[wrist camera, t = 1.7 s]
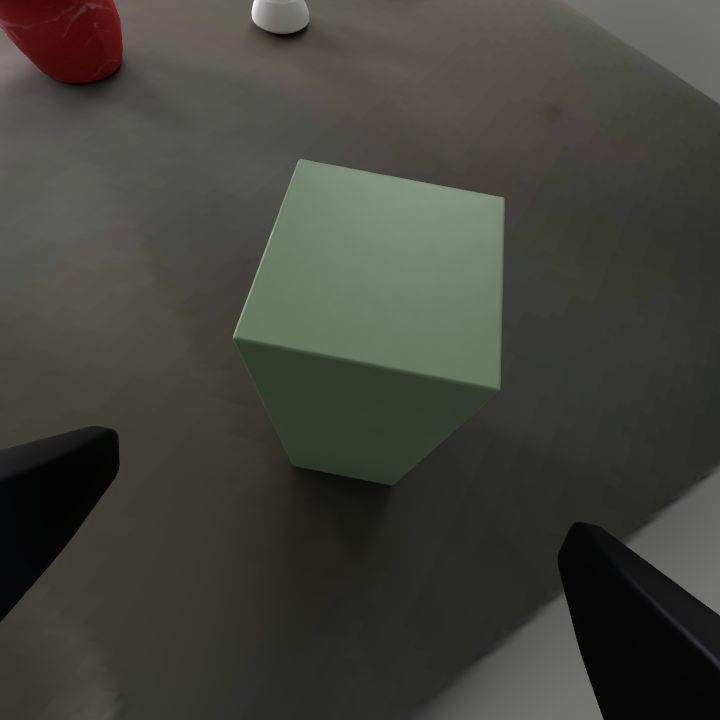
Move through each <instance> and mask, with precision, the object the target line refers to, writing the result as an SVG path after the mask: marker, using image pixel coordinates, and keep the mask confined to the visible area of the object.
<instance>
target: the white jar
mask: <svg viewBox="0 0 720 720" xmlns="http://www.w3.org/2000/svg"><path fill="white" fill-rule="evenodd" d="M252 19H253V21H254V22H255V23H256V25H257V26H259V27H261V28H262V29H264V30H266V31H269V32H273V33H277V34H288V33H294V32H296V31H298V30H300V29H302V28H304V27H306V25H307V24H308V23H309V11H308V8H307V6H306V4H305V1H304V0H254V3H253V7H252Z"/></svg>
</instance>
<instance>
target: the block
mask: <svg viewBox="0 0 720 720" xmlns="http://www.w3.org/2000/svg"><path fill="white" fill-rule="evenodd" d="M504 213H505V199H504V198H502V197H497V196H492V195H487V194H481V193H476V192H471V191H466V190H460V189H455V188H450V187H445V186H439V185H434V184H429V183H424V182H418V181H413V180H408V179H403V178H397V177H392V176H387V175H382V174H376V173H371V172H366V171H361V170H355V169H350V168H345V167H340V166H334V165H329V164H324V163H319V162H313V161H308V160H303V159H300V160H299V161H298V163H297V166H296V169H295V171H294V174H293V177H292V179H291V182H290V185H289V187H288V190H287V193H286V195H285V198H284V201H283V204H282V206H281V209H280V212H279V214H278V217H277V220H276V222H275V225H274V228H273V230H272V233H271V236H270V238H269V241H268V244H267V247H266V249H265V252H264V255H263V257H262V260H261V263H260V265H259V268H258V271H257V273H256V276H255V279H254V281H253V284H252V287H251V290H250V292H249V295H248V298H247V300H246V303H245V306H244V308H243V311H242V314H241V316H240V319H239V322H238V324H237V327H236V330H235V333H234V335H233V341H234V343H235V345H236V347H237V349H238V351H239V353H240V356H241V358H242V360H243V362H244V364H245V366H246V368H247V370H248V372H249V375H250V377H251V379H252V381H253V383H254V385H255V387H256V389H257V391H258V394H259V396H260V398H261V400H262V402H263V404H264V406H265V408H266V411H267V413H268V415H269V417H270V419H271V421H272V423H273V425H274V427H275V430H276V432H277V434H278V436H279V438H280V440H281V442H282V444H283V447H284V449H285V451H286V453H287V455H288V457H289V459H290V461H291V463H292V465H293V466H296V467H301V468H306V469H311V470H316V471H321V472H326V473H331V474H336V475H341V476H346V477H351V478H356V479H361V480H366V481H371V482H376V483H381V484H386V485H391V486H392V485H394V484H395V483H396V482H397V481H399V480H400V479H401V478H402V477H403V476H404V475H405V474H407V473H408V472H409V471H410V470H411V469H412V468H413V467H414V466H416V465H417V464H418V463H419V462H420V461H421V460H422V459H424V458H425V457H426V456H427V455H428V454H429V453H430V452H431V451H433V450H434V449H435V448H436V447H437V446H438V445H439V444H441V443H442V442H443V441H444V440H445V439H446V438H447V437H448V436H450V435H451V434H452V433H453V432H454V431H455V430H456V429H458V428H459V427H460V426H461V425H462V424H463V423H464V422H465V421H467V420H468V419H469V418H470V417H471V416H472V415H473V414H475V413H476V412H477V411H478V410H479V409H480V408H481V407H482V406H484V405H485V404H486V403H487V402H488V401H489V400H490V399H492V398H493V397H494V396H495V395H496V394H497V393H498V392H499V391H500V380H501V338H502V296H503V254H504Z"/></svg>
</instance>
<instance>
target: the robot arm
mask: <svg viewBox="0 0 720 720" xmlns="http://www.w3.org/2000/svg"><path fill="white" fill-rule="evenodd" d="M118 470H119V439H118V434H117V432H116V431H115V430H114V429H110V428H105V427H100V426H90V427H86V428H83V429H79V430H75V431H71V432H67V433H64V434H60V435H56V436H52V437H49V438H45V439H41V440H37V441H34V442H30V443H26V444H22V445H18V446H15V447H11V448H7V449H3V450H0V622H1V621H2V620H3V619H4V618H5V616H6V615H7V614H8V613H9V612H10V611H11V610H12V608H13V607H14V606H15V605H16V604H17V603H18V601H19V600H20V599H21V598H22V597H23V596H24V595H25V593H26V592H27V591H28V590H29V589H30V588H31V586H32V585H33V584H34V583H35V582H36V581H37V579H38V578H39V577H40V576H41V575H42V574H43V573H44V571H45V570H46V569H47V568H48V567H49V566H50V564H51V563H52V562H53V561H54V560H55V559H56V557H57V556H58V555H59V554H60V553H61V551H62V550H63V549H64V548H65V546H66V545H67V544H68V542H69V541H70V540H71V538H72V537H73V536H74V534H75V533H76V532H77V530H78V529H79V527H80V526H81V525H82V523H83V522H84V521H85V519H86V518H87V516H88V515H89V514H90V512H91V511H92V509H93V508H94V507H95V505H96V504H97V502H98V501H99V500H100V498H101V497H102V495H103V494H104V493H105V491H106V490H107V488H108V487H109V486H110V484H111V483H112V482H113V480H114V479H115V477H116V475H117V473H118ZM558 568H559V572H560V576H561V580H562V584H563V588H564V592H565V596H566V599H567V603H568V607H569V611H570V615H571V619H572V623H573V627H574V631H575V635H576V639H577V642H578V645H579V649H580V653H581V655H582V659H583V662H584V665H585V668H586V671H587V674H588V676H589V679H590V682H591V685H592V687H593V691H594V694H595V696H596V699H597V702H598V705H599V708H600V711H601V714H602V716H603V719H604V720H720V616H719V615H718V614H717V613H715V612H714V611H713V610H711V609H710V608H709V607H707V606H706V605H704V604H703V603H702V602H701V601H699V600H698V599H697V598H695V597H694V596H692V595H691V594H690V593H688V592H687V591H686V590H684V589H683V588H682V587H680V586H679V585H678V584H676V583H675V582H674V581H672V580H671V579H670V578H668V577H667V576H665V575H664V574H663V573H661V572H660V571H659V570H657V569H656V568H655V567H653V566H652V565H651V564H649V563H648V562H647V561H645V560H644V559H643V558H641V557H640V556H638V555H637V554H636V553H635V552H633V551H632V550H630V549H629V548H628V547H627V546H625V545H624V544H623V543H621V542H620V541H618V540H617V539H616V538H614V537H613V536H612V535H610V534H609V533H608V532H606V531H605V530H604V529H602V528H601V527H599V526H597V525H593V524H588V523H583V522H576V523H574V524H573V525H572V526H571V528H570V530H569V532H568V534H567V536H566V538H565V540H564V543H563V545H562V547H561V549H560V551H559V554H558Z"/></svg>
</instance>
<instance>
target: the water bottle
mask: <svg viewBox="0 0 720 720" xmlns="http://www.w3.org/2000/svg"><path fill="white" fill-rule="evenodd" d="M0 25H1V26H2V28H3V29H4V31H5V32H6V34H7V36H8V37H9V38H10V39H11V40H12V41H13V43H14V44H15V45H16V46H17V47H18V48H19V49H20V50H21V51H22V52H23V53H24V54H25V55H26V56H27V57H28V58H29V59H30V60H31V61H32V62H33V63H34V64H35V65H36V66H37V67H38V68H39V69H40V70H41V71H42V72H43V73H45V74H46V75H48V76H49V77H51V78H52V79H56V80H60V81H63V82H67V83H86V82H94V81H96V80H99V79H102V78H105V77H108V76H110V75H111V74H112V73H113V72H114V71H115V70H116V69H117V68H118V67H119V66H121V62H122V51H123V44H122V34H121V24H120V17H119V15H118V12H117V10H116V7H115V4H114V2H113V0H0Z"/></svg>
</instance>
